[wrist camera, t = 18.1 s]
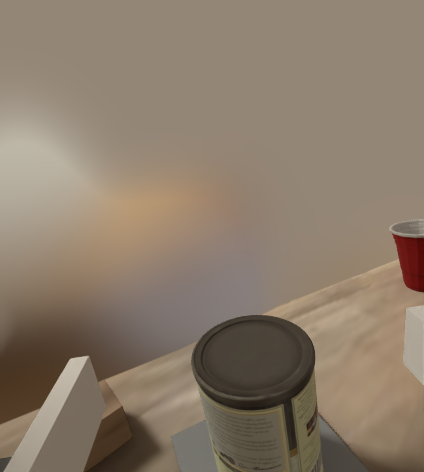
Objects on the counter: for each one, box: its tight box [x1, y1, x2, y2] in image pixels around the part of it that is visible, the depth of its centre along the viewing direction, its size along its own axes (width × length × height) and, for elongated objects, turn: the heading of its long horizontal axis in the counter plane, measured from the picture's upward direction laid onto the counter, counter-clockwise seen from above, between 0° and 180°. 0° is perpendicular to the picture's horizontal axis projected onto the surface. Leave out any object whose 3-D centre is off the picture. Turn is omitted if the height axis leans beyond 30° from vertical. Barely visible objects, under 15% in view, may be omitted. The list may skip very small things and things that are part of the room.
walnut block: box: [83, 380, 133, 472], centre depth 36 cm, size 6×6×5 cm
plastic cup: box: [389, 219, 424, 292], centre depth 55 cm, size 11×11×12 cm
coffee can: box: [191, 315, 324, 472], centre depth 27 cm, size 10×10×14 cm
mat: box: [171, 415, 370, 472], centre depth 30 cm, size 16×16×1 cm
